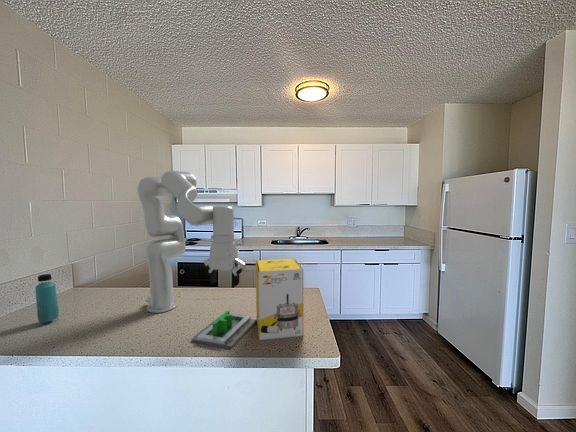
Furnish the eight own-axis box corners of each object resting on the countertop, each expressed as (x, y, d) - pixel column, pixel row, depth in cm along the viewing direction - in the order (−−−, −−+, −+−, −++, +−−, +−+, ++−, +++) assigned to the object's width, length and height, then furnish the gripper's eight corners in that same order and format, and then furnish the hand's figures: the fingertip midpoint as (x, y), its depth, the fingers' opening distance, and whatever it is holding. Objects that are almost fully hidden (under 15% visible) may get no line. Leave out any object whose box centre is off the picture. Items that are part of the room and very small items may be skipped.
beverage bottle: (62, 319, 112) (59, 273, 110) (44, 327, 105) (40, 277, 104) (52, 317, 114) (49, 271, 112) (33, 324, 108) (29, 276, 106)
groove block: (191, 341, 94) (191, 335, 94) (222, 316, 113) (222, 311, 113) (231, 349, 89) (230, 342, 89) (256, 322, 108) (256, 316, 108)
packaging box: (294, 316, 113) (294, 258, 112) (303, 335, 98) (303, 269, 96) (256, 319, 111) (255, 260, 109) (259, 340, 95) (258, 271, 93)
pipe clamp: (222, 337, 95) (221, 324, 95) (212, 335, 96) (212, 323, 96) (235, 322, 106) (235, 311, 106) (227, 321, 107) (226, 310, 107)
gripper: (197, 239, 98) (199, 284, 100) (239, 242, 93) (240, 289, 94) (209, 236, 105) (211, 278, 107) (249, 238, 100) (249, 283, 101)
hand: (224, 283), depth 100 cm, fingers open, 9 cm apart
